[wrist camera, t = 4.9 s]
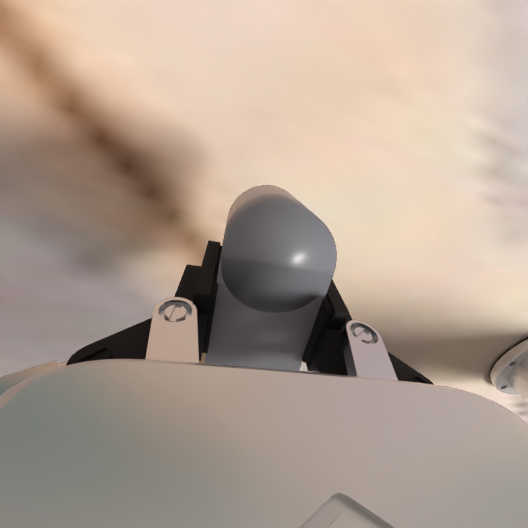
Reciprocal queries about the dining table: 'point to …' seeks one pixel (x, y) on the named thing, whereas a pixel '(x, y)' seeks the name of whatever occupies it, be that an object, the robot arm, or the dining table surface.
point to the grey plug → (269, 281)
